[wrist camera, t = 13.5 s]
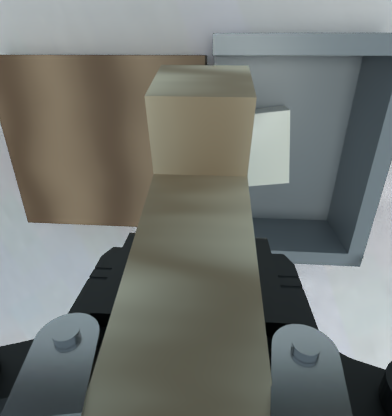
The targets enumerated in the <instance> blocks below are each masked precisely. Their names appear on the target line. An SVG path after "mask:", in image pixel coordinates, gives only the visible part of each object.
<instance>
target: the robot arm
mask: <svg viewBox="0 0 392 416" xmlns="http://www.w3.org/2000/svg"><path fill="white" fill-rule="evenodd" d="M134 237H135V233H130V234H129V235H128V237H127V239H126V241H125V243H124V245H123V247H122V248H121V247H113V248H112V249H110V250H109V251H108V252H106V253H105V254H104V255H102V256H101V258H100V260H99V261H98V263H97V265H96V267H95V269H94V270H93V272H92V273H91V275H90V279H88V280H87V282H86V284H85V285H84V287H83V289H82V290H81V292H80V294H79V296H78V297H77V299H76V301H75V302H74V304H73V306H72V308H71V309H70V311H69V313H68V314H66V315H62V316H60V317H57V318H55V319H53V320H52V321H50V322H49V323H47V324H46V325H45V326H44V327H43V328H42V329H41V330H40V331H39V332H38V333H37V335H36V337H35V338H34V339H33V340H29V341H25V342H20V343H15V344H10V345H6V346H1V347H0V416H84V411H85V405H86V398H87V392H88V387H89V384H90V381H91V378H92V374H93V371H94V368H95V364H96V361H97V358H98V355H99V351H100V348H101V345H102V341H103V338H104V335H105V332H106V328H107V325H108V322H109V319H110V315H111V312H112V309H113V305H114V302H115V299H116V296H117V292H118V289H119V286H120V282H121V279H122V276H123V273H124V269H125V266H126V263H127V260H128V256H129V253H130V250H131V246H132V243H133V240H134ZM255 244H256V253H257V261H258V269H259V278H260V286H261V294H262V303H263V311H264V320H265V328H266V336H267V345H268V353H269V362H270V370H271V378H272V385H271V396H270V416H392V361H391V362H390V363H389V364H388V366H387V368H386V370H384V369H381V368H378V367H375V366H372V365H369V364H366V363H363V362H360V361H357V360H354V359H352V358H349V357H347V356H345V355H343V354H341V353H340V352H339V351H338V349H337V347H336V346H335V344H334V343H333V342H332V340H331V339H330V338H329V337H327V336H326V335H325V334H324V333H322V332H321V331H319V330H318V327H317V325H316V322H315V319H314V317H313V314H312V311H311V308H310V306H309V303H308V300H307V298H306V295H305V292H304V290H303V289H302V284H301V281H300V279H299V278H298V277H299V276H298V273H297V271H296V268H295V265H294V264H293V263H292V262H291V261H290V260H289V259H288V258H287V257H286V256H285V255H284V254H272V253H271V250H270V246H269V243H268V239H267V238H256V237H255Z"/></svg>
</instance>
